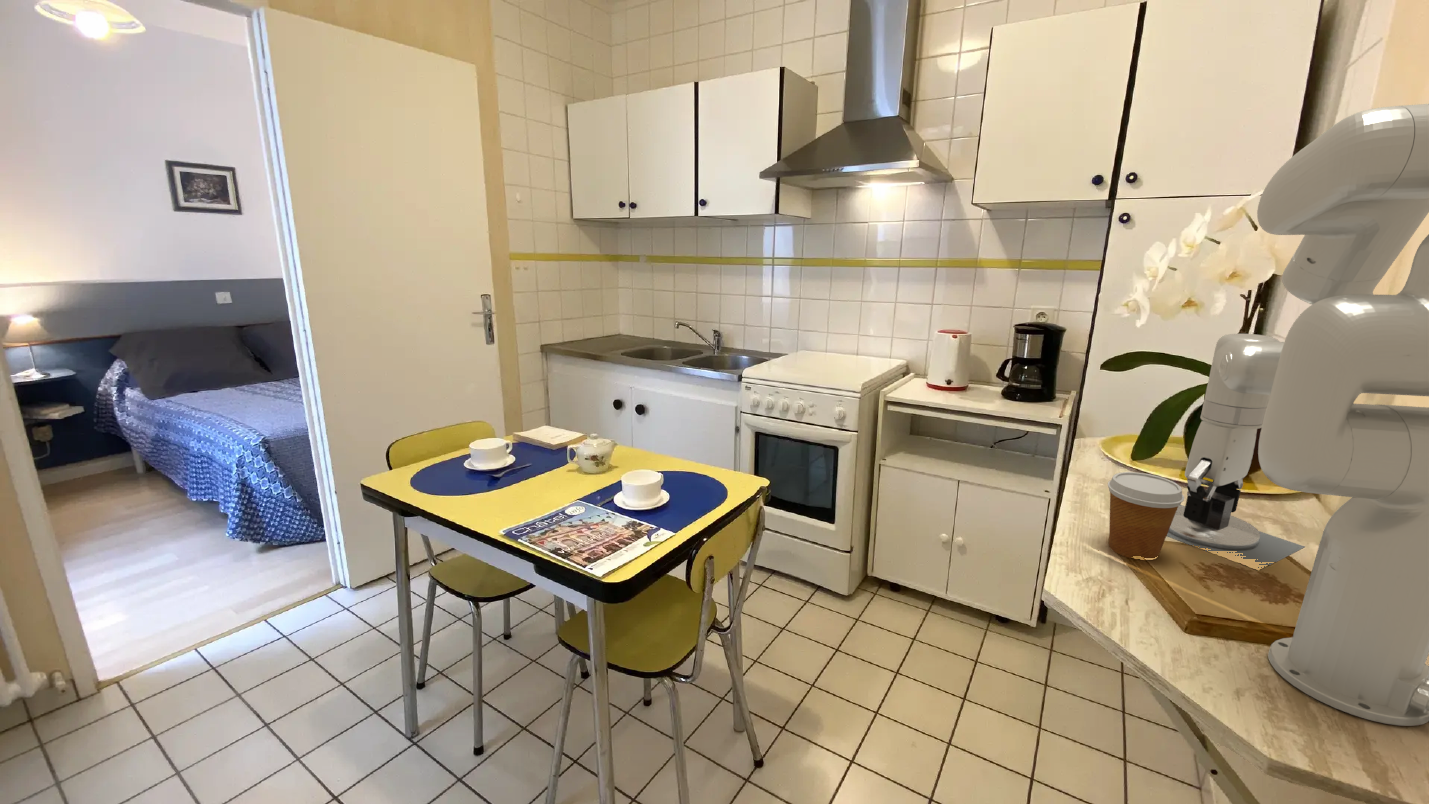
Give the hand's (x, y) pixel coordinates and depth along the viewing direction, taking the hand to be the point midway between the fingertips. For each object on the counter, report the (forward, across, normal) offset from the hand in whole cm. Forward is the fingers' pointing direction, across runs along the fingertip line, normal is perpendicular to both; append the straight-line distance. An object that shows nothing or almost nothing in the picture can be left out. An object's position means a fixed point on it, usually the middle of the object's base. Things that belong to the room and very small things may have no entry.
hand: (1209, 514), depth 97 cm
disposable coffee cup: (+4, +17, -2) cm, 18 cm away
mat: (+4, 0, 0) cm, 4 cm away
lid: (+3, 0, 0) cm, 3 cm away
